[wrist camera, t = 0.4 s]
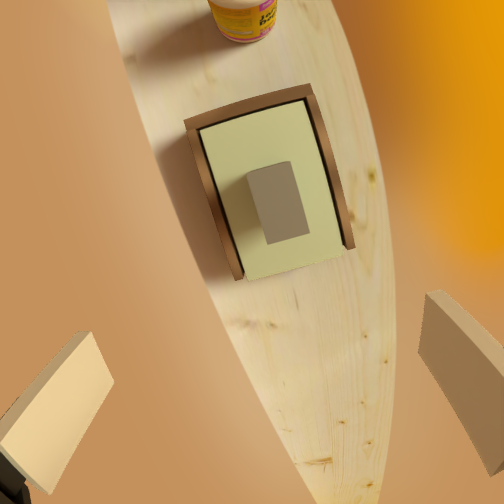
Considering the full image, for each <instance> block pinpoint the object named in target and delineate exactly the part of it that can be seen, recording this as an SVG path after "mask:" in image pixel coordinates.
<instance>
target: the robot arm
mask: <svg viewBox="0 0 504 504" xmlns="http://www.w3.org/2000/svg"><path fill="white" fill-rule="evenodd" d="M418 353H419V355H420V356H421V358H422V359H423V361H424V362H425V364H426V365H427V367H428V369H429V370H430V372H431V373H432V375H433V376H434V378H435V380H436V381H437V383H438V384H439V386H440V387H441V389H442V391H443V392H444V394H445V396H446V397H447V399H448V401H449V402H450V404H451V406H452V407H453V409H454V411H455V412H456V414H457V416H458V418H459V419H460V421H461V423H462V425H463V426H464V428H465V430H466V432H467V433H468V435H469V437H470V439H471V441H472V443H473V445H474V446H475V448H476V450H477V452H478V454H479V456H480V458H481V460H482V462H483V463H484V466H485V467H486V470H487V472H488V474H489V476H490V477H492V476H493V475H495V474H497V473H499V472H500V471H502V470H504V347H503V346H501V344H500V343H499V342H497V340H496V339H495V338H494V337H493V336H492V335H491V334H490V333H489V332H488V331H486V329H485V328H484V327H482V325H480V324H479V323H478V322H477V321H476V320H475V319H474V318H473V317H472V316H471V315H470V314H469V313H468V312H467V311H466V310H465V309H463V308H462V307H461V306H460V305H459V304H458V303H457V302H456V301H455V300H454V299H453V298H451V297H450V296H449V295H448V294H447V293H446V292H444V290H442V289H441V290H436V291H432V292H427V293H426V294H425V305H424V314H423V322H422V330H421V337H420V343H419V349H418ZM113 384H114V380H113V378H112V376H111V374H110V372H109V370H108V368H107V366H106V364H105V362H104V360H103V357H102V356H101V353H100V351H99V349H98V346H97V344H96V342H95V339H94V337H93V335H92V332H91V331H78V332H77V333H76V334H75V335H74V336H73V337H72V338H71V339H70V340H69V341H68V343H67V344H66V345H65V346H64V347H63V348H62V349H61V350H60V351H59V352H58V353H57V354H56V355H55V357H54V358H53V359H52V360H51V361H50V362H49V363H48V364H47V365H46V367H45V368H44V369H43V370H42V371H41V372H40V374H38V376H37V377H36V378H35V379H34V380H33V381H32V383H31V384H30V385H29V386H28V387H27V388H26V389H25V391H24V392H23V393H22V394H21V395H20V397H18V398H17V399H16V401H15V402H14V403H13V404H12V406H11V407H10V408H9V409H8V410H7V412H6V414H4V415H3V417H2V418H1V419H0V504H31V499H30V493H29V489H28V487H27V486H26V485H25V484H24V482H25V480H26V479H27V480H28V481H29V482H30V483H31V484H32V485H33V486H34V487H35V488H36V489H38V490H40V491H42V492H44V493H47V494H49V495H51V494H52V492H53V490H54V488H55V486H56V484H57V482H58V480H59V478H60V477H61V475H62V473H63V471H64V469H65V467H66V466H67V464H68V462H69V460H70V458H71V456H72V455H73V452H74V451H75V449H76V447H77V446H78V444H79V442H80V440H81V438H82V437H83V435H84V433H85V431H86V429H87V428H88V426H89V424H90V423H91V421H92V419H93V418H94V416H95V414H96V412H97V411H98V409H99V407H100V406H101V404H102V402H103V401H104V399H105V397H106V396H107V394H108V392H109V391H110V389H111V387H112V386H113Z"/></svg>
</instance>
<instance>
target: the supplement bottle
mask: <svg viewBox="0 0 504 504" xmlns="http://www.w3.org/2000/svg"><path fill="white" fill-rule="evenodd" d="M208 3H209V6H210V8H211V11H212V14H213V16H214V19H215V22H216V24H217V27H218V29H219V31H220V32H221V33H222V34H223V35H224V36H225V37H227V38H228V39H230V40H233V41H236V42H254V41H257V40H260V39H262V38H264V37H265V36H267V35H268V34H269V33H270V32H271V31H272V29H273V27H274V25H275V20H276V9H277V0H208Z"/></svg>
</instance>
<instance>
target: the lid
mask: <svg viewBox="0 0 504 504" xmlns="http://www.w3.org/2000/svg"><path fill="white" fill-rule="evenodd" d="M200 133H201V136H202V140H203V143H204V146H205V149H206V152H207V156H208V159H209V162H210V165H211V168H212V171H213V175H214V178H215V181H216V184H217V187H218V190H219V193H220V196H221V200H222V203H223V206H224V209H225V212H226V215H227V218H228V221H229V224H230V228H231V231H232V234H233V237H234V240H235V243H236V246H237V249H238V252H239V255H240V258H241V261H242V264H243V267H244V270H245V273H246V276H247V279H248V281H251V280H255V279H259V278H263V277H267V276H270V275H274V274H278V273H281V272H285V271H289V270H293V269H296V268H300V267H303V266H307V265H311V264H314V263H318V262H321V261H325V260H329V259H332V258H336V257H339V256H343V255H344V250H343V245H342V241H341V236H340V232H339V227H338V223H337V219H336V214H335V210H334V206H333V202H332V198H331V194H330V190H329V186H328V182H327V179H326V175H325V171H324V168H323V164H322V160H321V157H320V153H319V150H318V147H317V143H316V140H315V137H314V133H313V130H312V127H311V124H310V120H309V117H308V114H307V111H306V108H305V105H304V102H303V101H299V102H295V103H291V104H287V105H283V106H279V107H275V108H271V109H267V110H264V111H260V112H257V113H253V114H250V115H246V116H243V117H240V118H237V119H233V120H230V121H227V122H224V123H221V124H218V125H215V126H212V127H209V128H206V129H203V130H200Z"/></svg>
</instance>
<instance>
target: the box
mask: <svg viewBox="0 0 504 504" xmlns="http://www.w3.org/2000/svg"><path fill="white" fill-rule="evenodd" d="M299 101H303V102H304V105H305V108H306V111H307V114H308V117H309V120H310V124H311V127H312V130H313V133H314V137H315V140H316V143H317V147H318V150H319V153H320V157H321V160H322V164H323V168H324V171H325V175H326V179H327V182H328V186H329V190H330V194H331V198H332V202H333V206H334V210H335V214H336V219H337V223H338V227H339V232H340V236H341V241H342V245H344V246H345V248H346V249H347V250H350V249H353V248H355V243H354V238H353V233H352V228H351V224H350V219H349V215H348V210H347V206H346V202H345V198H344V193H343V189H342V185H341V181H340V178H339V174H338V170H337V166H336V162H335V159H334V155H333V152H332V148H331V145H330V141H329V138H328V135H327V131H326V128H325V125H324V121H323V118H322V115H321V112H320V109H319V106H318V103H317V100H316V97H315V94H314V93H313V90H312V87H311V85H310V83H308V84H304V85H299V86H295V87H291V88H286V89H282V90H278V91H274V92H271V93H267V94H263V95H259V96H256V97H252V98H249V99H245V100H242V101H239V102H235V103H232V104H229V105H226V106H223V107H220V108H217V109H214V110H211V111H208V112H205V113H202V114H199V115H197V116H194V117H191V118H188V119H186V120H184V124H185V127H186V130H187V136H188V139H189V142H190V145H191V149H192V152H193V155H194V158H195V161H196V164H197V168H198V171H199V174H200V177H201V180H202V183H203V186H204V189H205V193H206V196H207V199H208V202H209V205H210V208H211V211H212V214H213V217H214V220H215V223H216V226H217V229H218V232H219V235H220V238H221V241H222V244H223V247H224V250H225V253H226V256H227V259H228V262H229V265H230V268H231V271H232V273H233V276H234V279H235V281H237V280H241V279H243V276H244V272H245V270H244V267H243V264H242V261H241V258H240V255H239V252H238V249H237V246H236V243H235V240H234V237H233V234H232V231H231V228H230V224H229V221H228V218H227V215H226V212H225V209H224V206H223V203H222V200H221V196H220V193H219V190H218V187H217V184H216V181H215V178H214V175H213V171H212V168H211V165H210V162H209V159H208V156H207V152H206V149H205V146H204V143H203V140H202V136H201V133H200V130H203V129H206V128H209V127H212V126H215V125H218V124H221V123H224V122H227V121H230V120H233V119H237V118H240V117H243V116H246V115H250V114H253V113H257V112H260V111H264V110H267V109H271V108H275V107H279V106H283V105H287V104H291V103H295V102H299Z"/></svg>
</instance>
